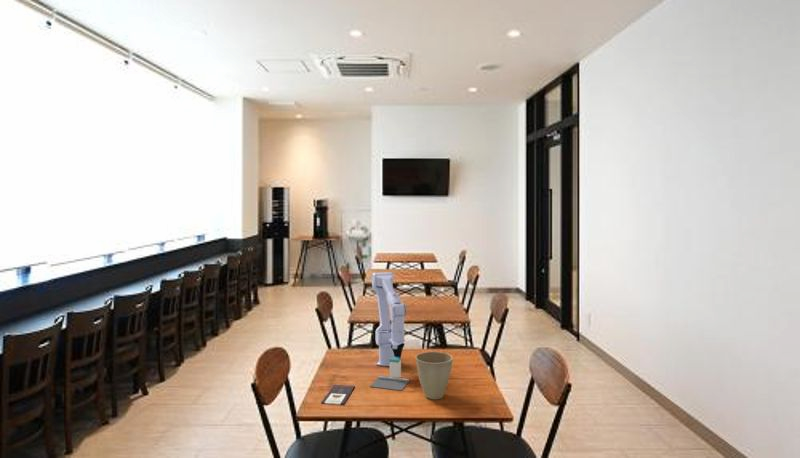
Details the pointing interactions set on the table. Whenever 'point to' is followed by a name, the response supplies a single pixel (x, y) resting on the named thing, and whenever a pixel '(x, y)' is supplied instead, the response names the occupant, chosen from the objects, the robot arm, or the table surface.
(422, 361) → the plant pot
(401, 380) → the stop rail
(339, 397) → the chocolate bar
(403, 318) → the robot arm
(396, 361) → the tall block
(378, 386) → the mat
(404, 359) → the table surface
